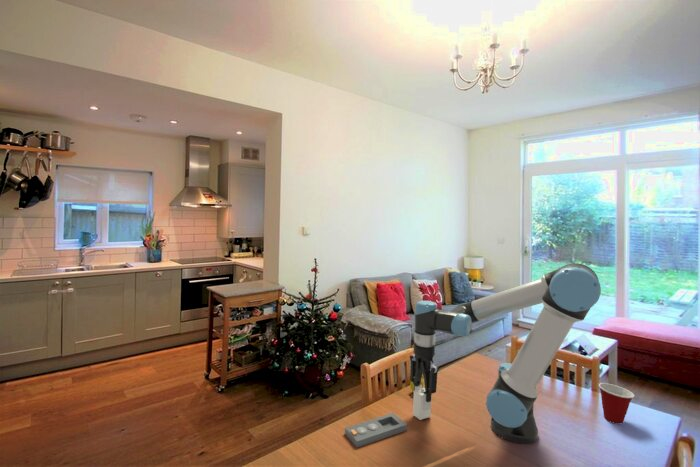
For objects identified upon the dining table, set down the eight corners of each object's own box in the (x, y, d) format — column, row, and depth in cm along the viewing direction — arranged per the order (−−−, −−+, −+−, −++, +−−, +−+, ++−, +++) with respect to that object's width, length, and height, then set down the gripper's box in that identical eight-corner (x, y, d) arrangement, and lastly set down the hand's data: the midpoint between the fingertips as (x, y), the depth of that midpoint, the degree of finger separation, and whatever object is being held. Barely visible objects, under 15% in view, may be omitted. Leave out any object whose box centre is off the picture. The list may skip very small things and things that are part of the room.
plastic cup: (640, 428, 127) (642, 396, 127) (612, 428, 126) (614, 396, 126) (615, 411, 138) (617, 381, 137) (589, 411, 137) (591, 382, 137)
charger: (430, 416, 128) (431, 390, 128) (420, 420, 126) (421, 393, 125) (423, 411, 132) (424, 385, 131) (412, 414, 129) (413, 388, 129)
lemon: (413, 397, 145) (414, 378, 144) (407, 390, 150) (408, 372, 150) (425, 395, 146) (426, 377, 146) (419, 389, 152) (420, 371, 151)
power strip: (406, 433, 121) (407, 422, 120) (356, 450, 111) (357, 439, 111) (393, 420, 128) (393, 411, 127) (344, 436, 118) (345, 425, 118)
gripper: (401, 337, 133) (399, 397, 134) (432, 353, 118) (430, 420, 119) (417, 335, 137) (415, 393, 138) (449, 350, 122) (446, 415, 123)
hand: (422, 405), depth 129 cm, fingers closed on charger, 4 cm apart
